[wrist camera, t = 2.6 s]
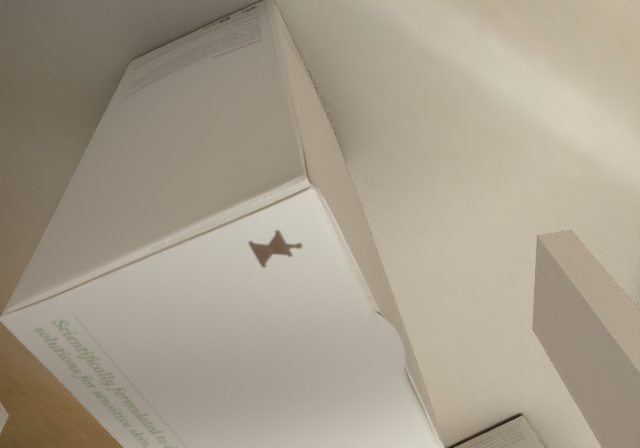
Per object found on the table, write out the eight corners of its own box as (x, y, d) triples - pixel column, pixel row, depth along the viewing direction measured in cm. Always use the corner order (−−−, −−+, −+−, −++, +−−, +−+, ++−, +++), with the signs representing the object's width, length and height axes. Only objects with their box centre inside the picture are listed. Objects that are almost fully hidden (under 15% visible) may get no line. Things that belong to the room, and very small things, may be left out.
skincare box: (128, 57, 24) (-39, 306, 10) (282, -13, 23) (318, 158, 9) (225, 224, 28) (196, 553, 14) (358, 169, 27) (457, 466, 14)
